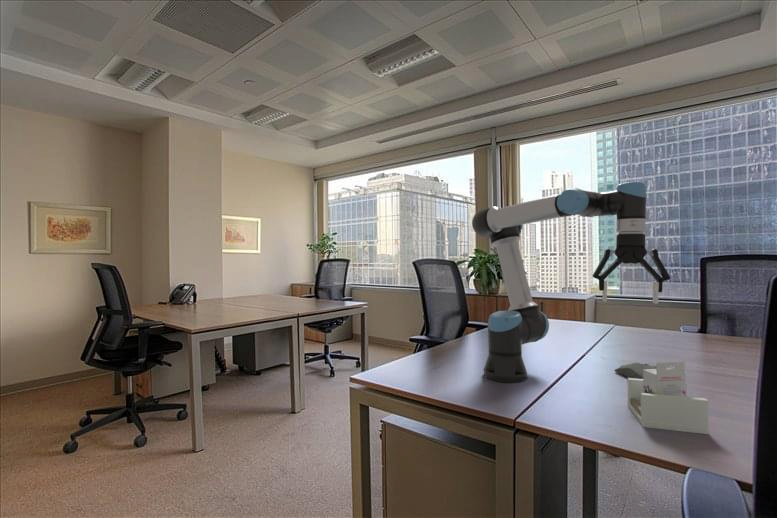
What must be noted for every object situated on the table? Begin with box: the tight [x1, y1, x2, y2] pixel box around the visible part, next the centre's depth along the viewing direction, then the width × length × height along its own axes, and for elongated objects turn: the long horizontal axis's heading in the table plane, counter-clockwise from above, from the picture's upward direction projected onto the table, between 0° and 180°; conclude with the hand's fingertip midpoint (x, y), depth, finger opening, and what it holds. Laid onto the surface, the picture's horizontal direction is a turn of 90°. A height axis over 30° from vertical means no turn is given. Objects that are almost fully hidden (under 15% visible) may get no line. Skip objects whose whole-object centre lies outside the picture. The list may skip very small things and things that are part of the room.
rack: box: [626, 377, 710, 435], centre depth 104 cm, size 14×15×8 cm
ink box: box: [643, 361, 686, 397], centre depth 104 cm, size 8×5×15 cm, turn 95°
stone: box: [614, 362, 656, 379], centre depth 138 cm, size 18×5×15 cm
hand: (629, 302), depth 118 cm, fingers open, 13 cm apart
